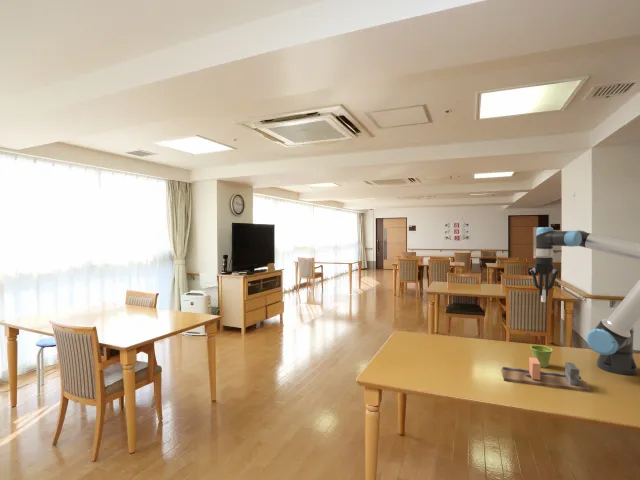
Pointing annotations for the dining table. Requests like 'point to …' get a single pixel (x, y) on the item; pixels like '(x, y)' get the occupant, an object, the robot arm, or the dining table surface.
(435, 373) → the dining table surface
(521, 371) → the board
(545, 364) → the plant pot
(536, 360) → the sliding point
